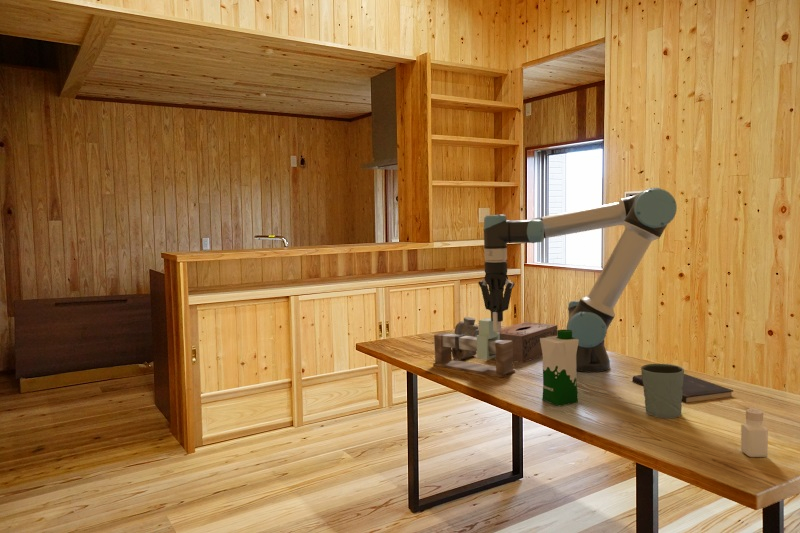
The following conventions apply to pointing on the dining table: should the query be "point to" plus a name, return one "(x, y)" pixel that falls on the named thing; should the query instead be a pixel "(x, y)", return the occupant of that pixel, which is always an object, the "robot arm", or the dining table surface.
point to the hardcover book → (696, 389)
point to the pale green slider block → (485, 339)
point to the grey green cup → (663, 389)
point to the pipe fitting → (467, 327)
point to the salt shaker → (754, 434)
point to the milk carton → (560, 368)
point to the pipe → (462, 353)
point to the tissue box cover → (527, 339)
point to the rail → (476, 368)
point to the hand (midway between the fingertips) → (497, 330)
